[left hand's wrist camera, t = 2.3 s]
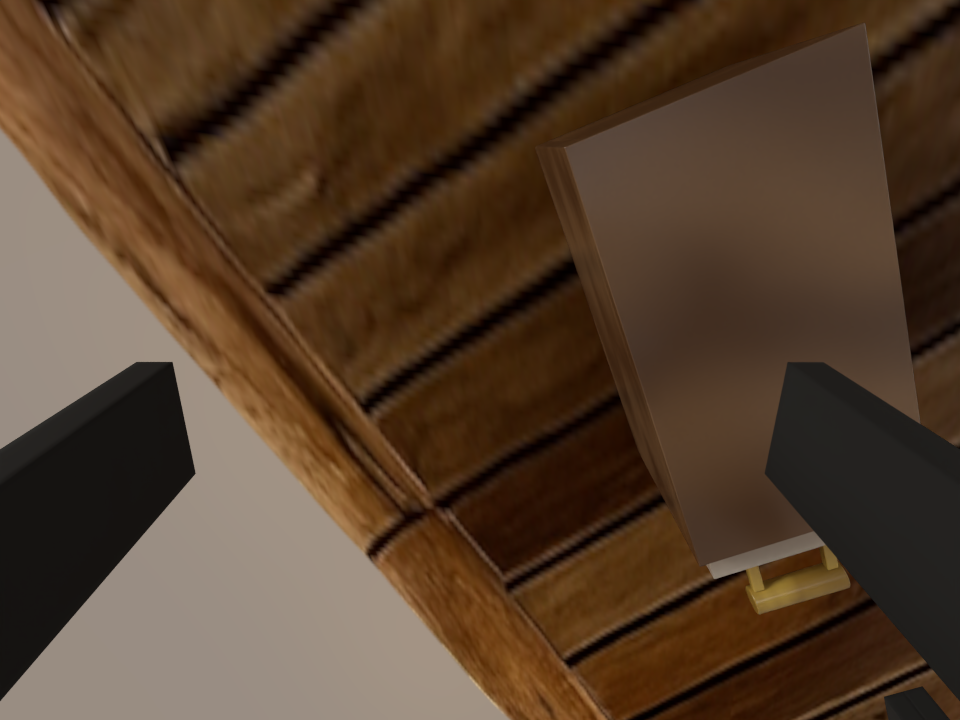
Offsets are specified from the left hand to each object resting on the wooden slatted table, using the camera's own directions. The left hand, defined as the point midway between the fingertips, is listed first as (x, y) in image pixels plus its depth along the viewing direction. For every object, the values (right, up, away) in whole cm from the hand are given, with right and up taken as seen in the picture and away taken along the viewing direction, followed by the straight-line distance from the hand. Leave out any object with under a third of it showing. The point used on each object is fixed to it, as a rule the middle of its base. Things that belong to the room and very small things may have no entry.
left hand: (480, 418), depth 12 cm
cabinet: (+12, +6, +20) cm, 24 cm away
